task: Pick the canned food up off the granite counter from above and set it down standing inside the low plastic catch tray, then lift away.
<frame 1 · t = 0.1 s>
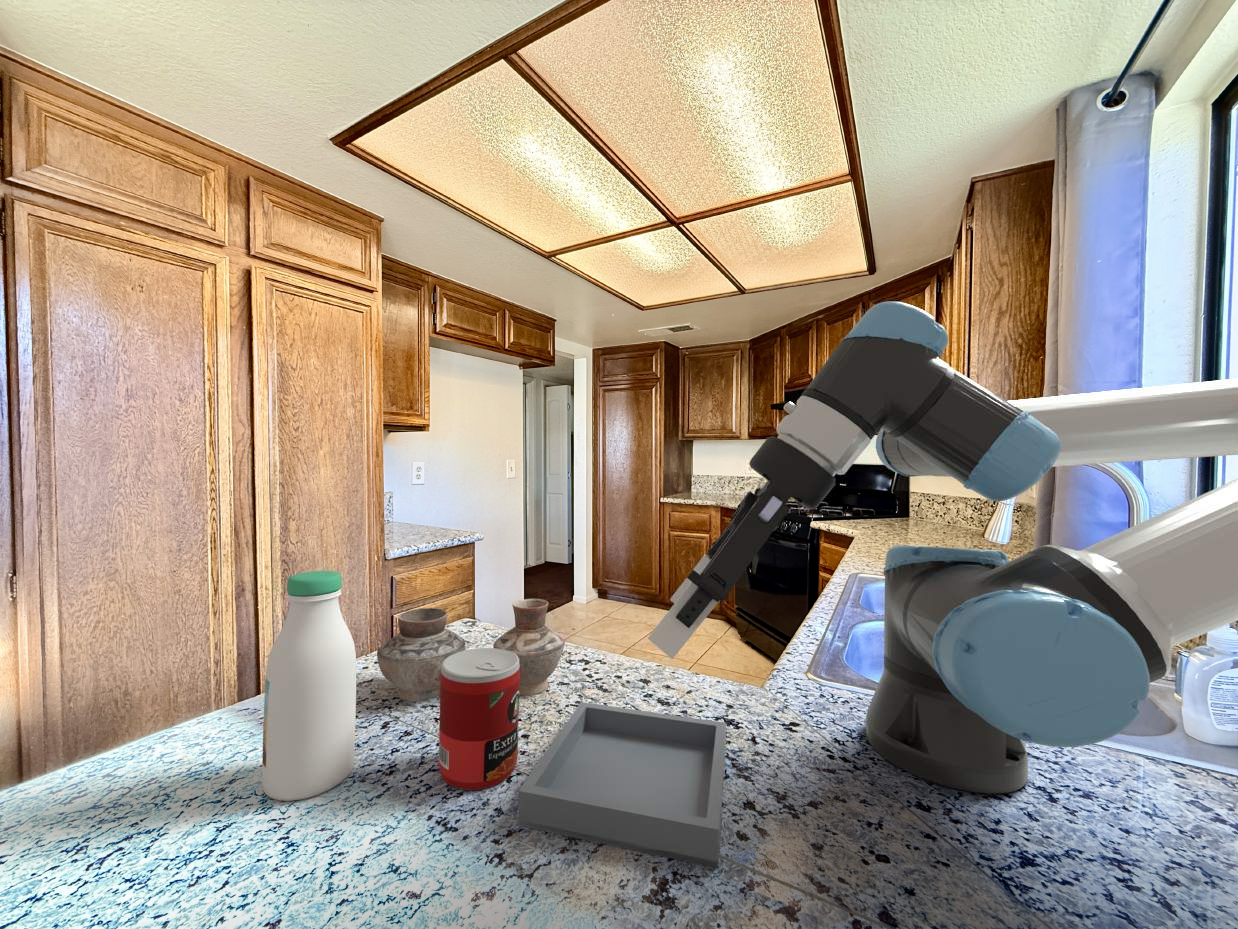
hand: (671, 624, 50), 15 cm above the countertop, tool tilted 35°, fingers open, 13 cm apart
pottery: (473, 691, 69), on the countertop
milk bottle: (309, 779, 49), on the countertop
catch tray: (634, 783, 49), on the countertop
canned food: (478, 770, 51), on the countertop
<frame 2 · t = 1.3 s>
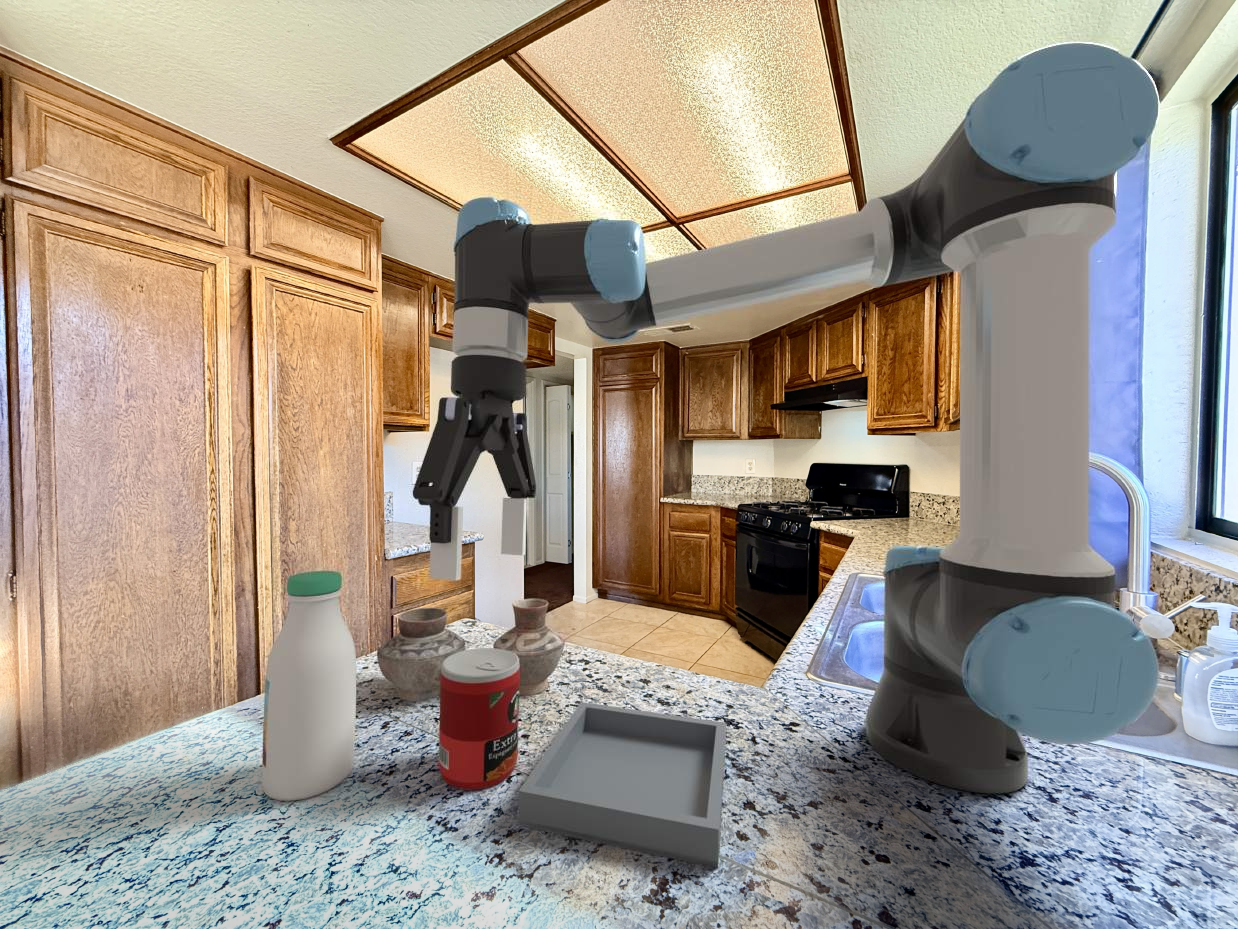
hand: (483, 565, 51), 21 cm above the countertop, tool pointing down, fingers open, 13 cm apart
nothing on the countertop moved.
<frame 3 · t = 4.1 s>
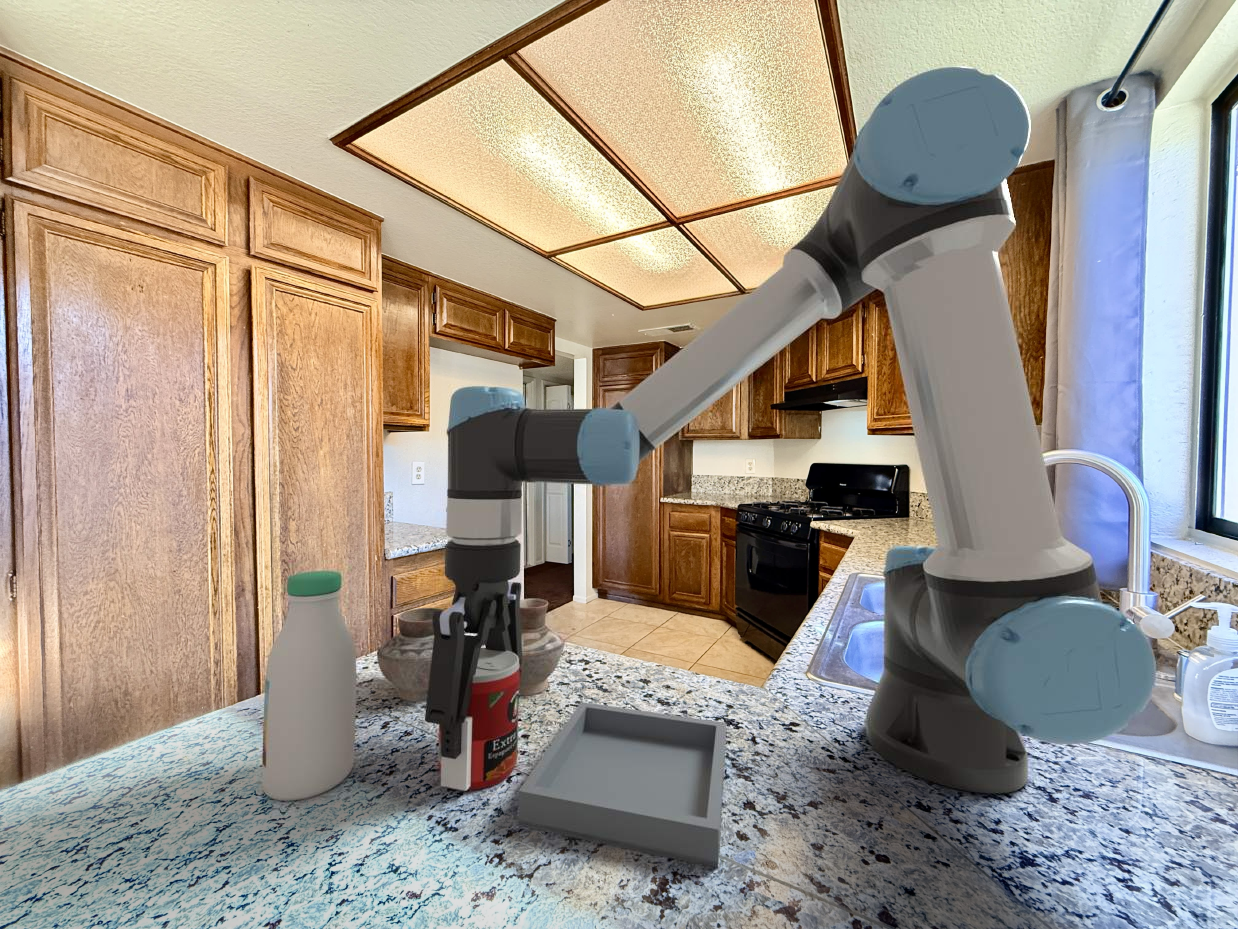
hand: (478, 760, 51), 1 cm above the countertop, tool pointing down, fingers closed on canned food, 8 cm apart
canned food: (478, 769, 51), on the countertop, touching gripper
everything else where it was.
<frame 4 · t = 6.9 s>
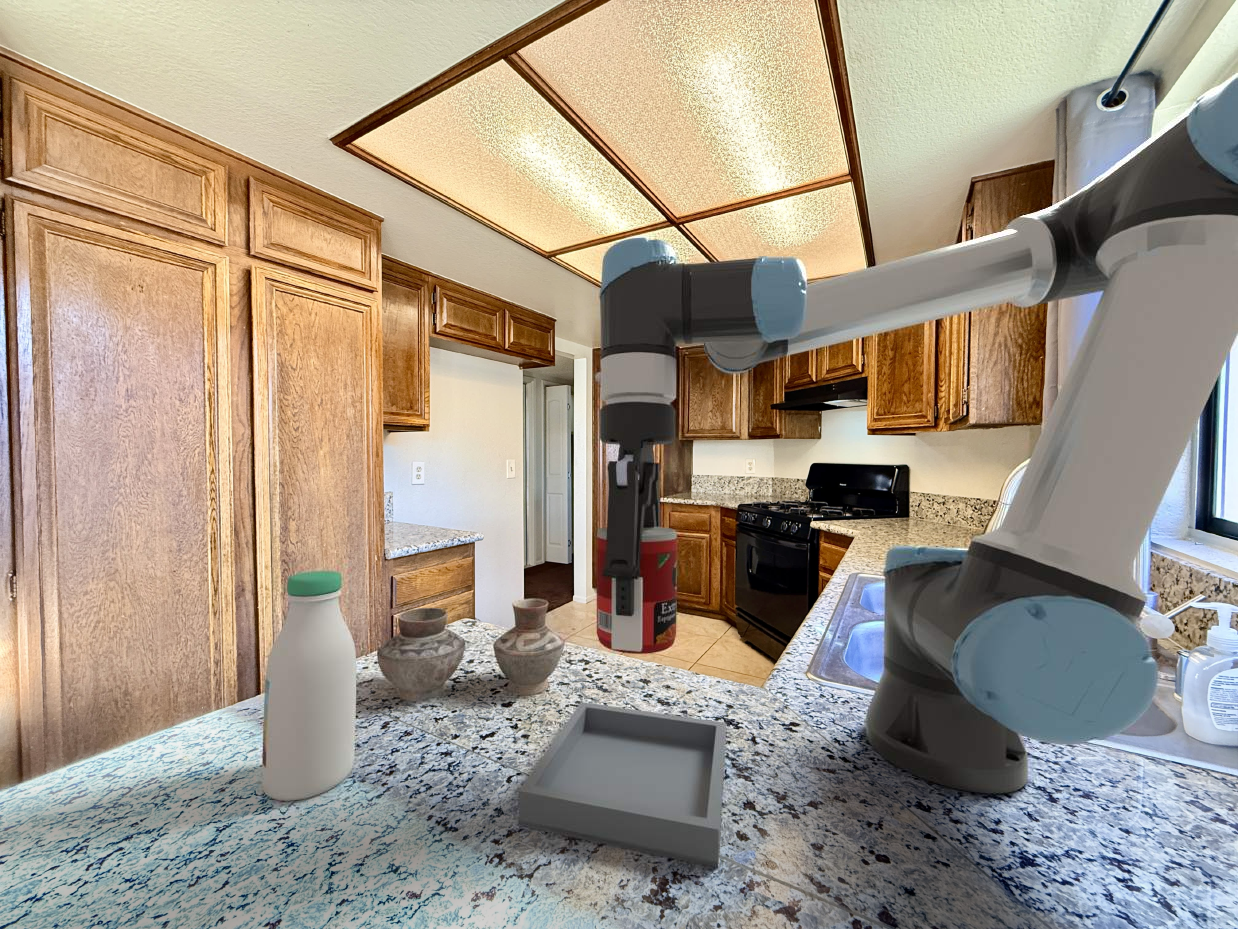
hand: (636, 633, 49), 15 cm above the countertop, tool pointing down, fingers closed on canned food, 8 cm apart
canned food: (636, 643, 49), point 14 cm above the countertop, touching gripper
everything else where it was.
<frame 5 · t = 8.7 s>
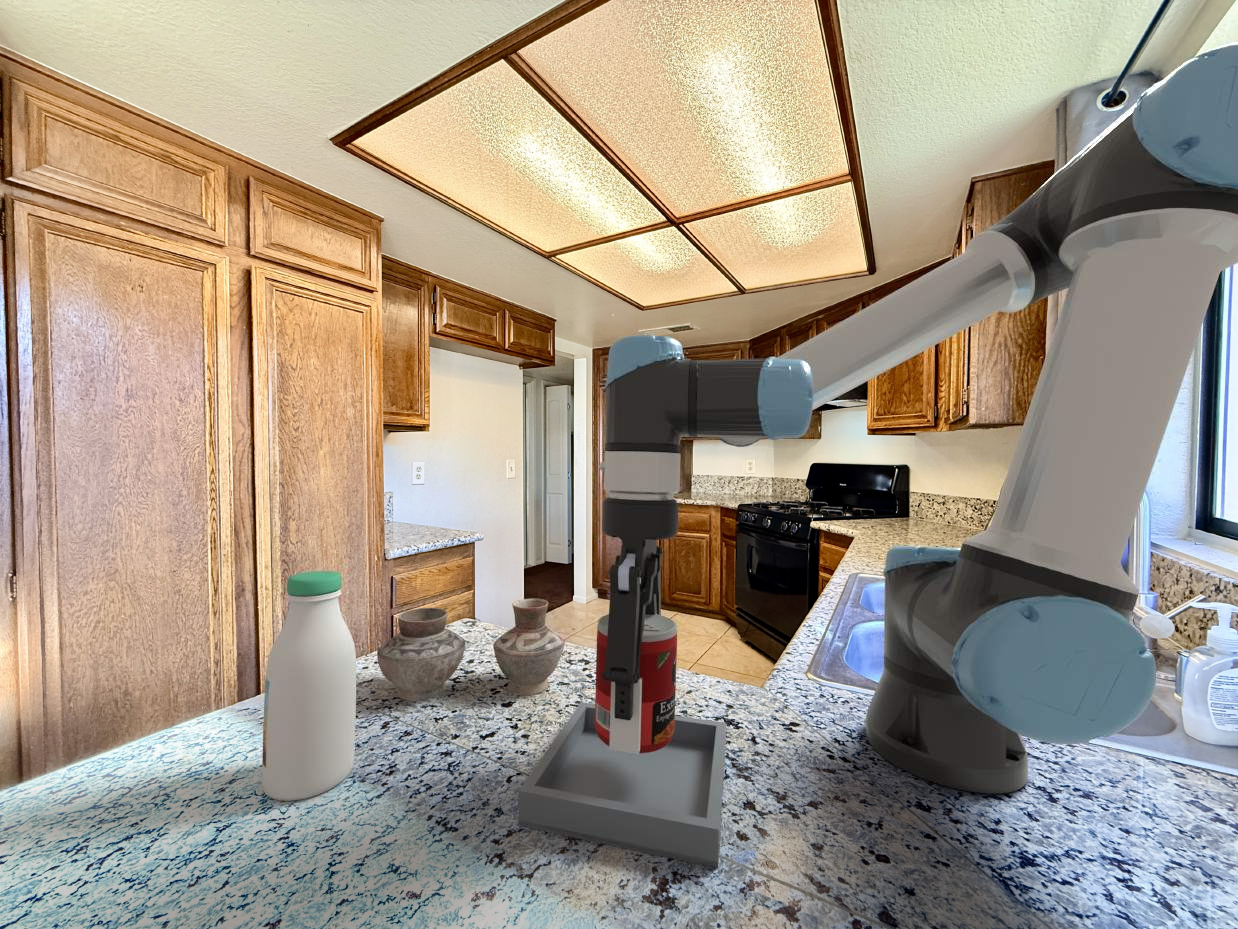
hand: (634, 726, 49), 6 cm above the countertop, tool pointing down, fingers closed on canned food, 8 cm apart
canned food: (634, 735, 49), point 5 cm above the countertop, touching gripper
everything else where it was.
when the fingers open (3 cm above the countertop, at t = 10.1 s): canned food drops 2 cm, resting on catch tray.
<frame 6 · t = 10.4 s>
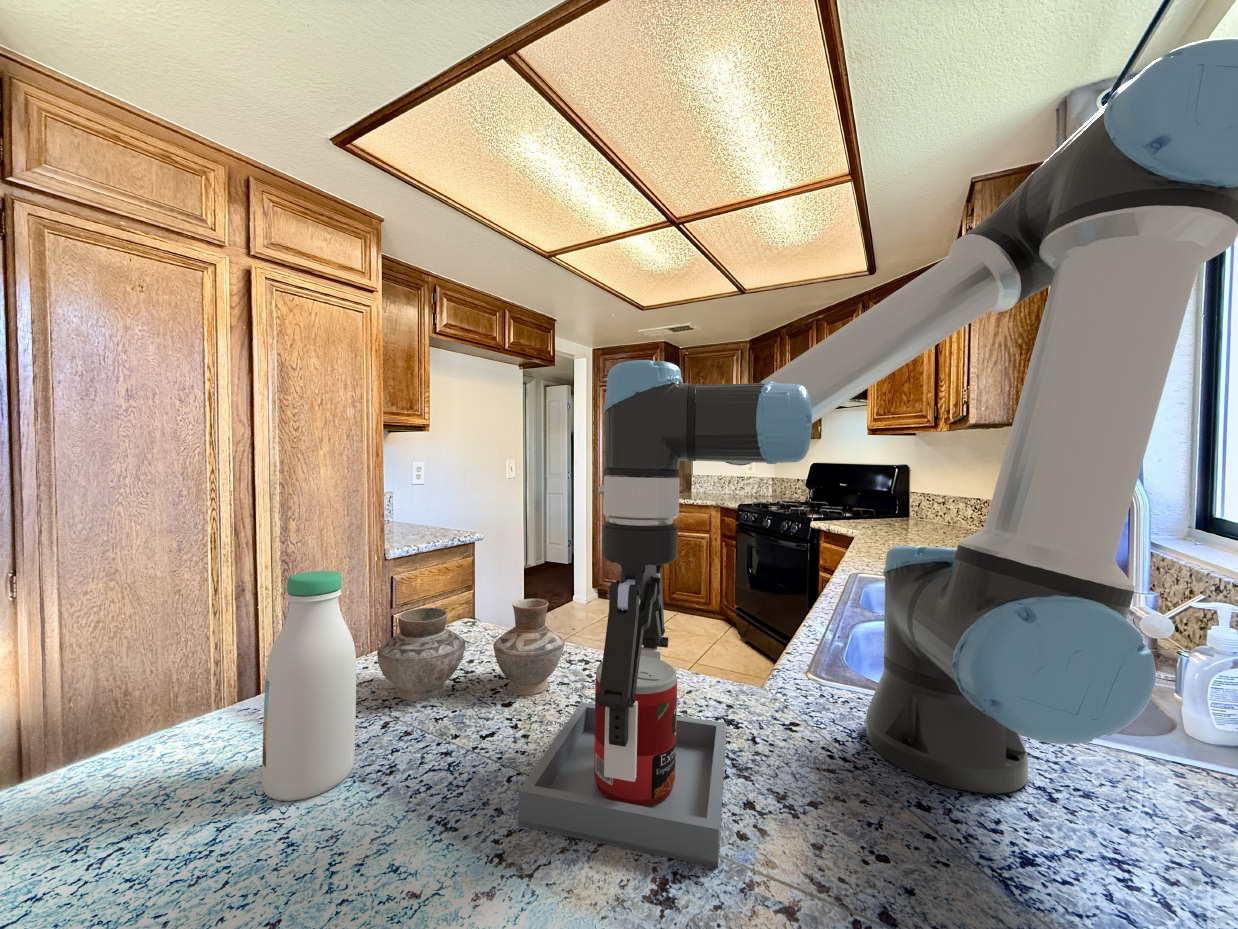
hand: (635, 738, 49), 4 cm above the countertop, tool pointing down, fingers open, 12 cm apart
canned food: (634, 784, 48), resting on catch tray
everything else where it was.
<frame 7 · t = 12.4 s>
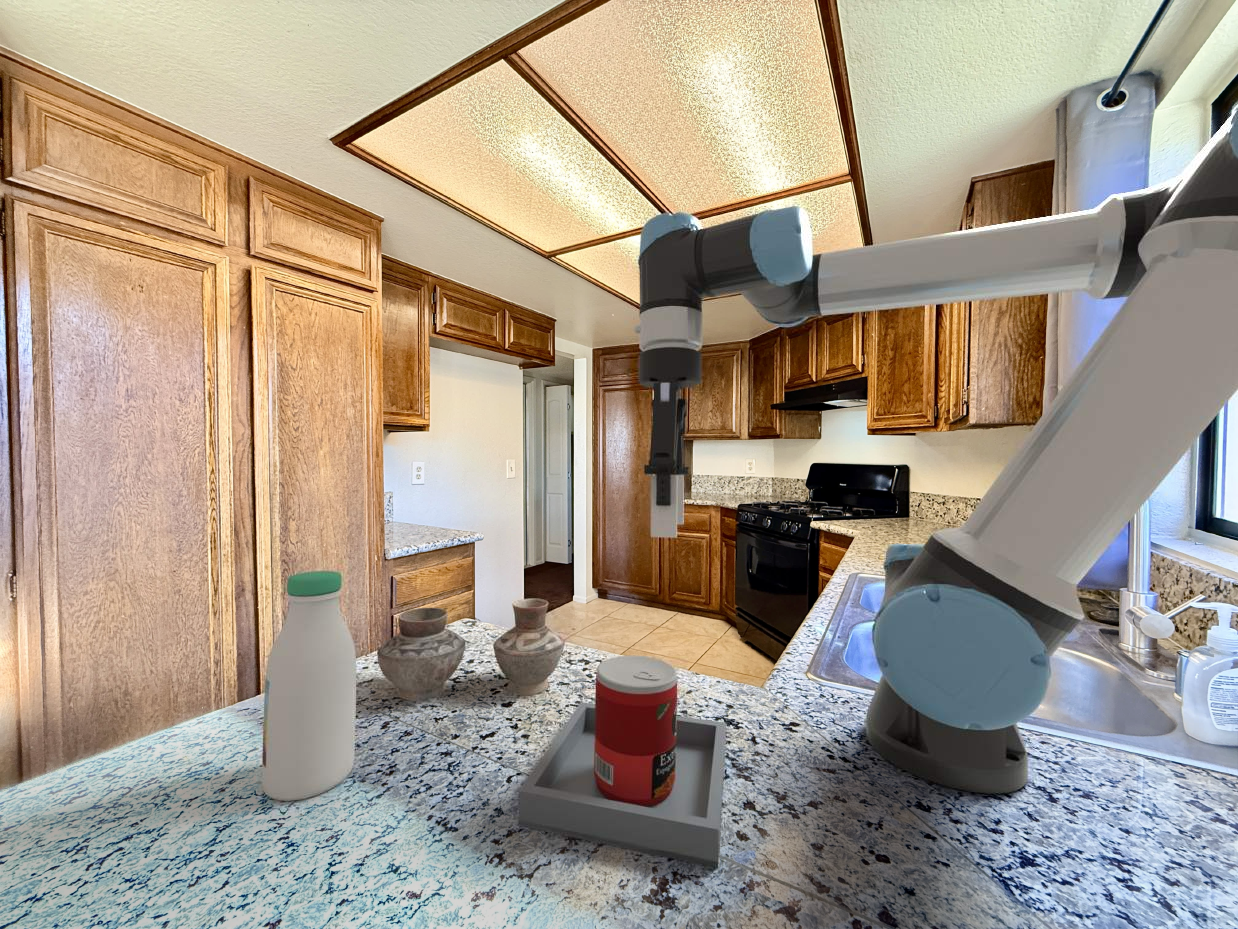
hand: (669, 530, 59), 24 cm above the countertop, tool pointing down, fingers open, 13 cm apart
nothing on the countertop moved.
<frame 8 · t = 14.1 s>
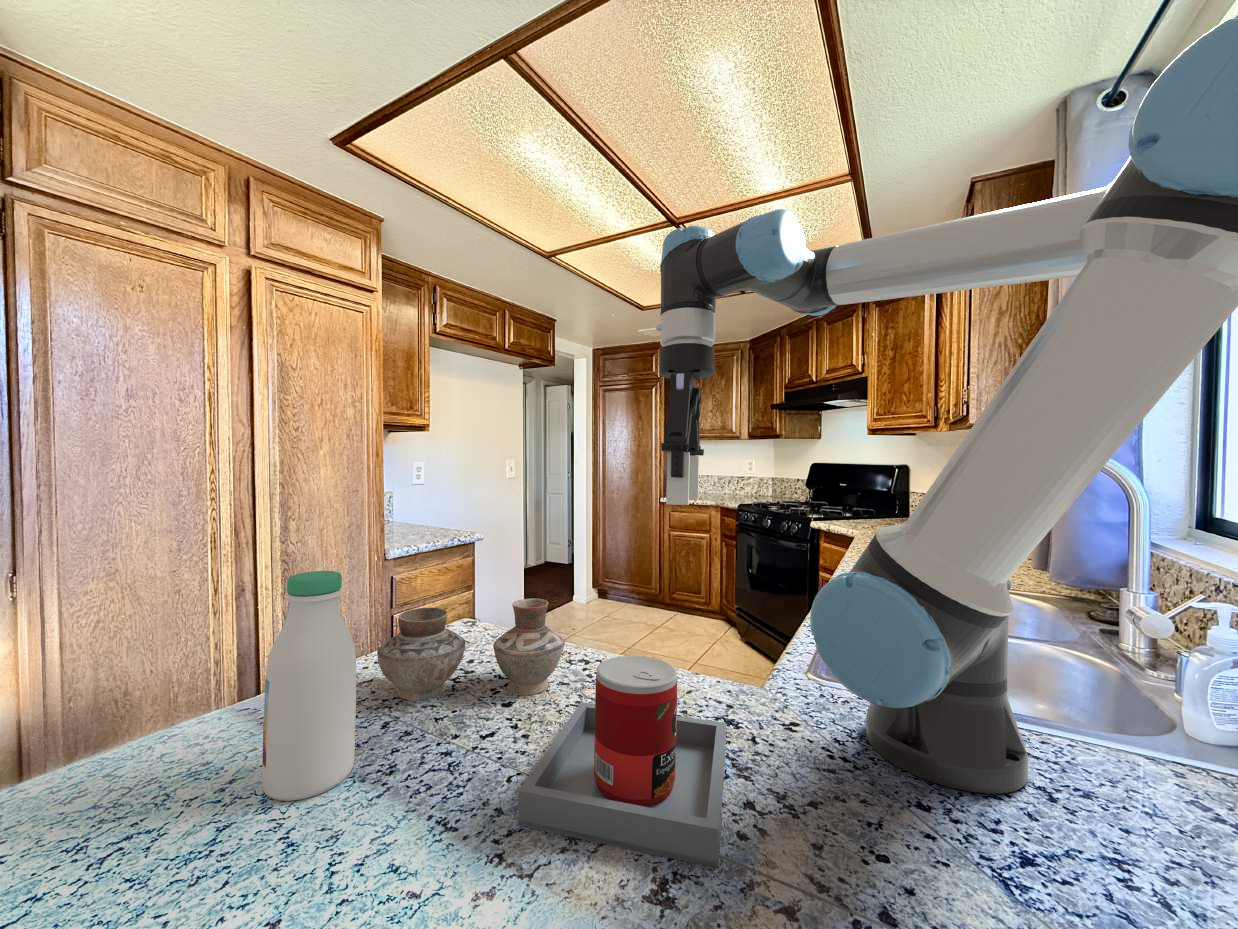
hand: (683, 501, 68), 27 cm above the countertop, tool pointing down, fingers open, 13 cm apart
nothing on the countertop moved.
at the end: canned food inside the target area on the catch tray (0.8 cm from its centre), point 0.3 cm above the catch tray's base; canned food tilted 0°; the gripper is holding nothing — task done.
